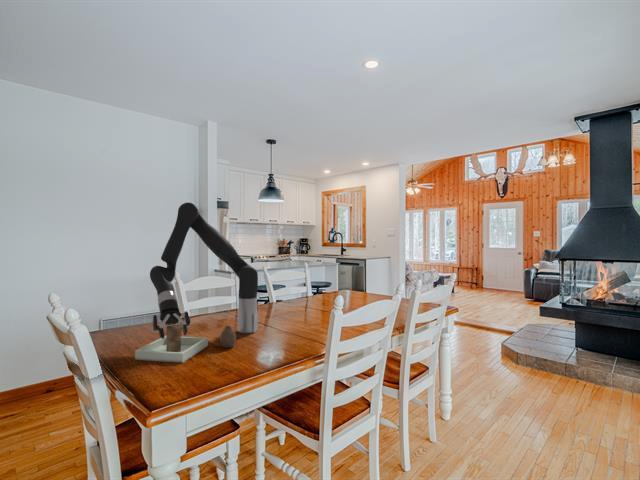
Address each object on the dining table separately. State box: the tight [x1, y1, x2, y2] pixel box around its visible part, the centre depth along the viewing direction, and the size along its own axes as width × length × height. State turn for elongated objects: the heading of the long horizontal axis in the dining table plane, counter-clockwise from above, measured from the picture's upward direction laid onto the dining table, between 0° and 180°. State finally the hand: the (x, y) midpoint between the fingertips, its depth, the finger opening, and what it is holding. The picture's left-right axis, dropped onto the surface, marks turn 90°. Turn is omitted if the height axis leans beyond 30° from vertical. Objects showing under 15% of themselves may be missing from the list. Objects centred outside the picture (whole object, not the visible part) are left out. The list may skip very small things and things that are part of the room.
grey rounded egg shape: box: [219, 325, 237, 349], centre depth 146 cm, size 7×7×9 cm
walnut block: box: [166, 324, 182, 352], centre depth 138 cm, size 5×5×10 cm
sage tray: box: [134, 335, 209, 364], centre depth 138 cm, size 20×20×4 cm
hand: (174, 335), depth 137 cm, fingers open, 8 cm apart
